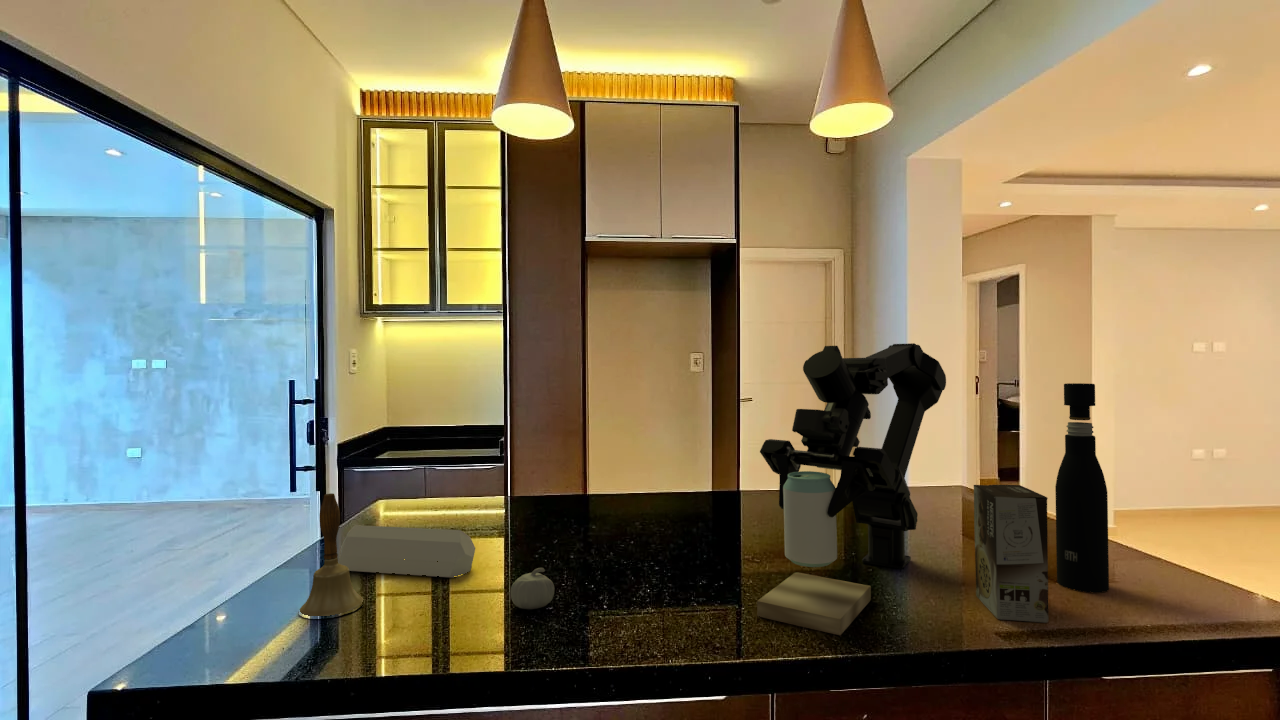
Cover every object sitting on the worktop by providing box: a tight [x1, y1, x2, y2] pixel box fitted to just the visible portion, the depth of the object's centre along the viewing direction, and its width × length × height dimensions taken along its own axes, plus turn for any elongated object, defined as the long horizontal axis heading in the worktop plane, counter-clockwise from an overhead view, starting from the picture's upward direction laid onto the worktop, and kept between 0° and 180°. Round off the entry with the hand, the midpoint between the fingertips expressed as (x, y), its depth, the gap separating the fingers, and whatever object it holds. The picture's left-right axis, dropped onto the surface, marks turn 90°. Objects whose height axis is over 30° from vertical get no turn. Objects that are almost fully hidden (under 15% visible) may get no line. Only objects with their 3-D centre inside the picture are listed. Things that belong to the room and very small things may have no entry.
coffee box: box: [973, 484, 1049, 624], centre depth 86 cm, size 9×6×16 cm
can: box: [783, 470, 838, 568], centre depth 88 cm, size 7×7×12 cm
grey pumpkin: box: [510, 567, 555, 610], centre depth 89 cm, size 6×5×5 cm
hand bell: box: [299, 493, 364, 616], centre depth 89 cm, size 8×8×16 cm
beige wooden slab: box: [756, 571, 872, 636], centre depth 87 cm, size 14×11×2 cm
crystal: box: [338, 524, 476, 578], centre depth 105 cm, size 7×7×24 cm
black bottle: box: [1054, 382, 1110, 594], centre depth 95 cm, size 6×6×30 cm
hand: (804, 511), depth 87 cm, fingers closed on can, 7 cm apart
